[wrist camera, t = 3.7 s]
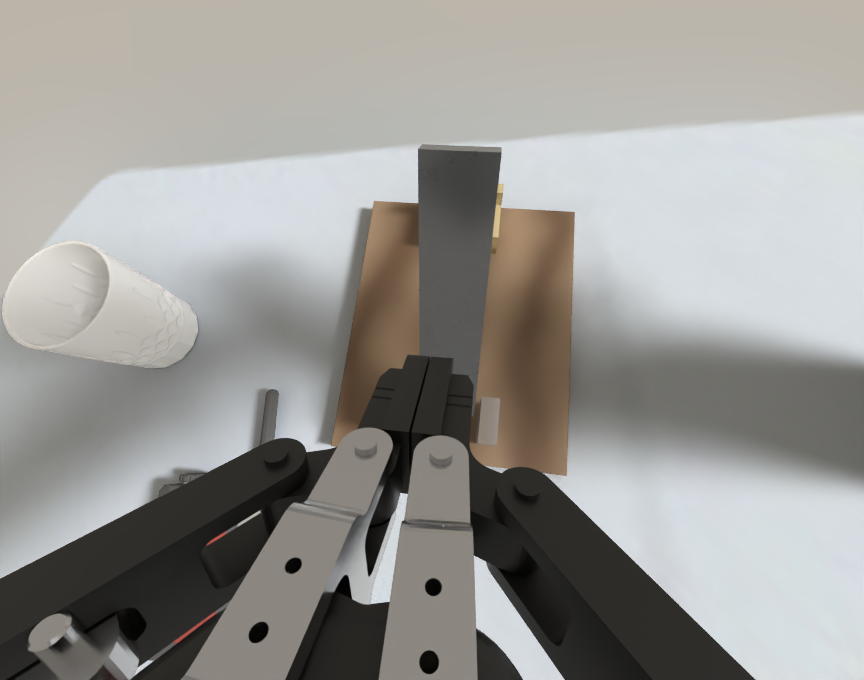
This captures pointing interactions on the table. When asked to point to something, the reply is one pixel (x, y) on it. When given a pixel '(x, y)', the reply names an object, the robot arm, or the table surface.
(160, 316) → the white cup
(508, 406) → the latch board
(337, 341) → the table surface
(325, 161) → the table surface
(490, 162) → the strap
